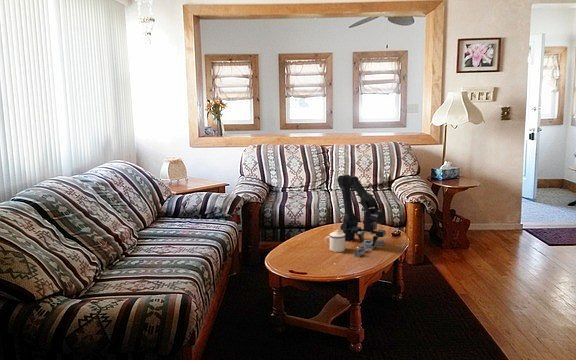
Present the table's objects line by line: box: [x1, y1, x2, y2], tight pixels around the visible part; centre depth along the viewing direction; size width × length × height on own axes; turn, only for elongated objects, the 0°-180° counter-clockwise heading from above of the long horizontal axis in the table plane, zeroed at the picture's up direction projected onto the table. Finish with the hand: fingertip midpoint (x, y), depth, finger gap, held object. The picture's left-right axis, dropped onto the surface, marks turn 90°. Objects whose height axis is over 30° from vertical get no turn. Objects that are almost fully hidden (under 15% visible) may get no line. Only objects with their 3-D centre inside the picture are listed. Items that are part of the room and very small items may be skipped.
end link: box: [361, 239, 376, 251], centre depth 279 cm, size 6×6×4 cm
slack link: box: [359, 245, 368, 254], centre depth 273 cm, size 4×3×2 cm
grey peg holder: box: [369, 237, 385, 247], centre depth 286 cm, size 8×8×5 cm
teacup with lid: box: [324, 229, 346, 253], centre depth 276 cm, size 12×9×12 cm
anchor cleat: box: [354, 246, 364, 258], centre depth 266 cm, size 5×3×5 cm, turn 150°
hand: (368, 246), depth 279 cm, fingers closed on end link, 6 cm apart
